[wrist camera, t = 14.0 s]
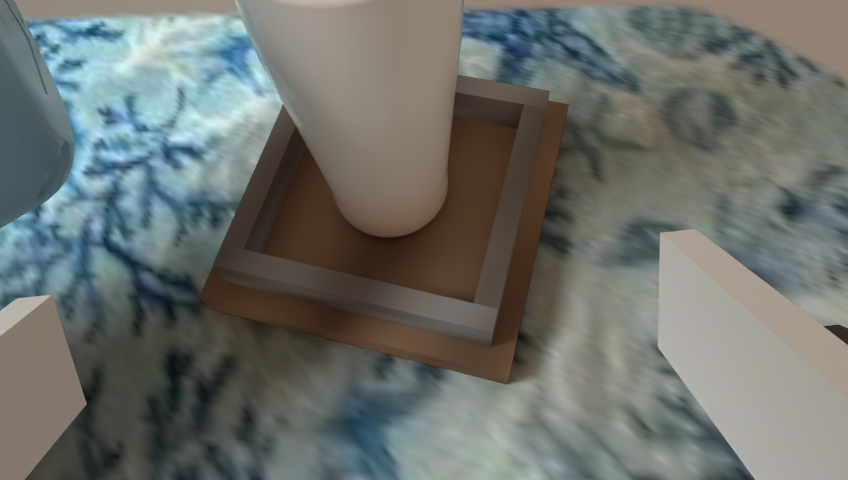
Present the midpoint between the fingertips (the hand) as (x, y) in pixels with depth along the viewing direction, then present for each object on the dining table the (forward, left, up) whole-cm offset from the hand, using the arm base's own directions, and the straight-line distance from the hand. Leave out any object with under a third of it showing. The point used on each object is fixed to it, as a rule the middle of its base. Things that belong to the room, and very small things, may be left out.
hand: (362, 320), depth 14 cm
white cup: (-4, +10, -13) cm, 17 cm away
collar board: (-4, +10, -15) cm, 18 cm away
